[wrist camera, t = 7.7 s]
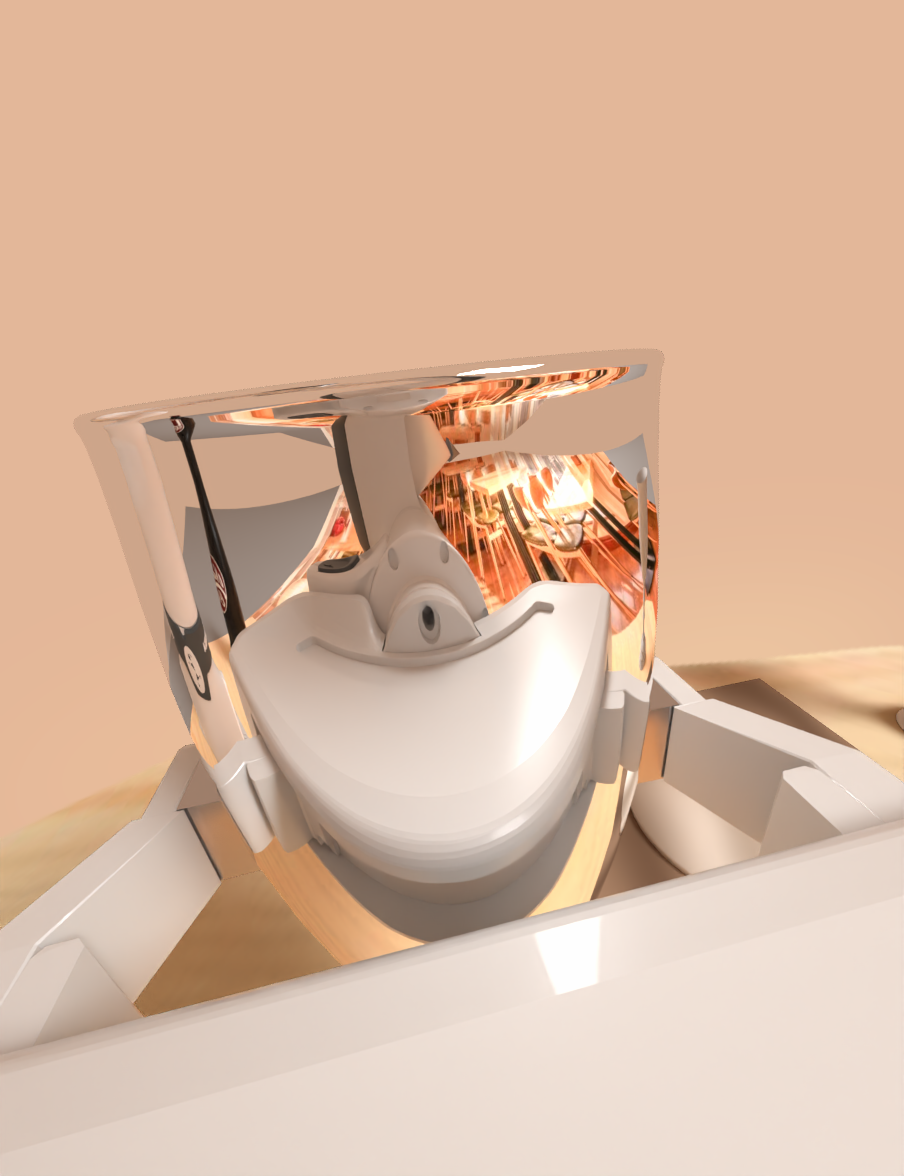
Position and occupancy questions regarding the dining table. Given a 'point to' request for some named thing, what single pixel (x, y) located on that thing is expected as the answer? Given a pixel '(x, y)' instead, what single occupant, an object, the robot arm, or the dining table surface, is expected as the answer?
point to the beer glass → (406, 626)
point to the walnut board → (695, 809)
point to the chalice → (900, 718)
